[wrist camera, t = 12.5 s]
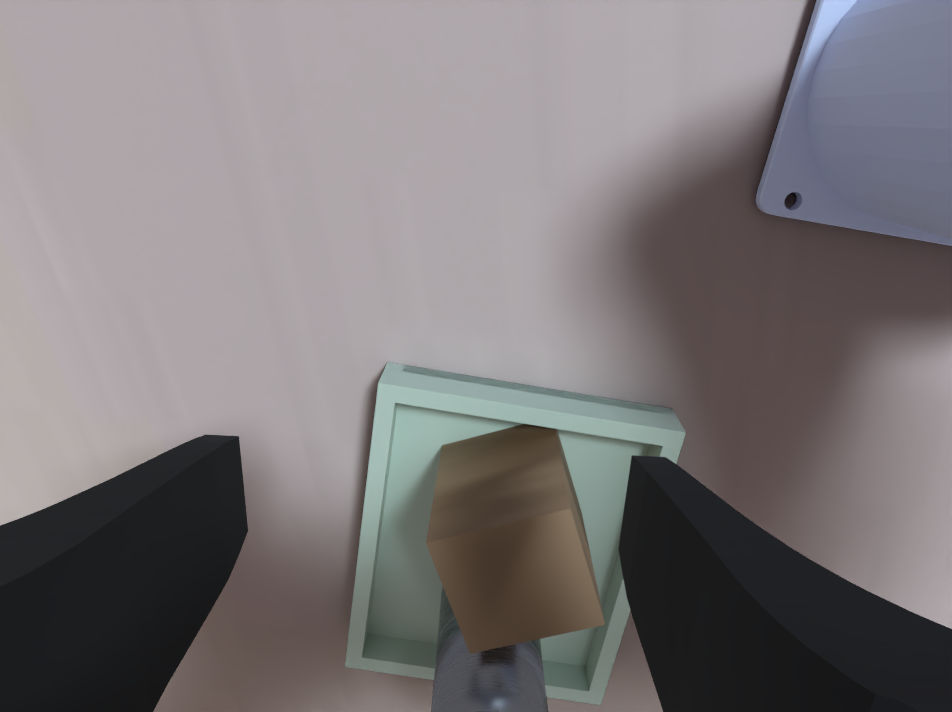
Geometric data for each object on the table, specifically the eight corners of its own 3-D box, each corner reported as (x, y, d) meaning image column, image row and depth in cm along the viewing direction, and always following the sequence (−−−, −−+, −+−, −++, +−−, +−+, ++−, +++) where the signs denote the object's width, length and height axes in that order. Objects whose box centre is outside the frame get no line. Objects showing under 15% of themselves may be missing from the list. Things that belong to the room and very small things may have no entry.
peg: (526, 551, 24) (539, 683, 18) (541, 625, 25) (559, 772, 20) (431, 566, 24) (417, 701, 19) (452, 639, 25) (443, 787, 20)
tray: (672, 408, 22) (686, 432, 21) (594, 667, 27) (600, 705, 25) (387, 362, 22) (378, 382, 20) (354, 631, 26) (344, 666, 25)
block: (553, 416, 22) (570, 508, 17) (581, 512, 23) (605, 624, 18) (442, 445, 23) (425, 543, 17) (476, 537, 24) (470, 654, 19)
